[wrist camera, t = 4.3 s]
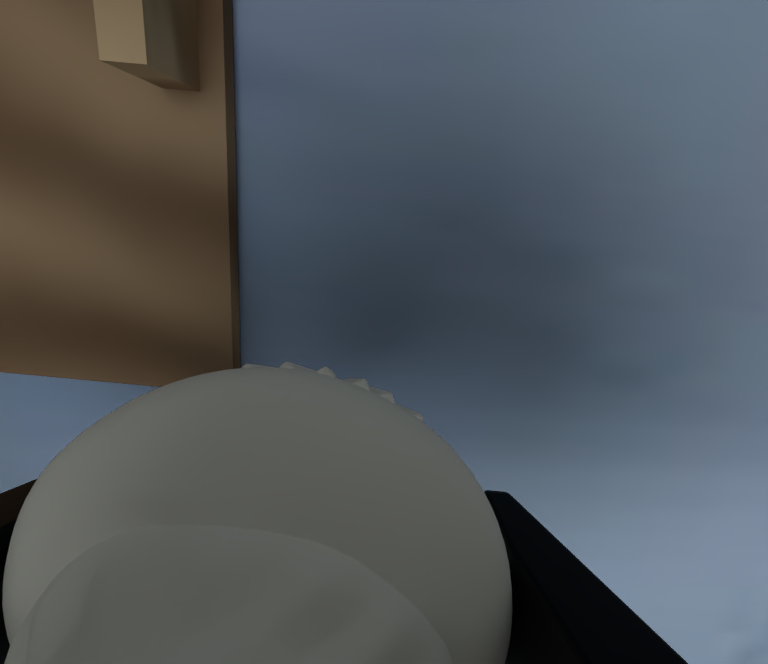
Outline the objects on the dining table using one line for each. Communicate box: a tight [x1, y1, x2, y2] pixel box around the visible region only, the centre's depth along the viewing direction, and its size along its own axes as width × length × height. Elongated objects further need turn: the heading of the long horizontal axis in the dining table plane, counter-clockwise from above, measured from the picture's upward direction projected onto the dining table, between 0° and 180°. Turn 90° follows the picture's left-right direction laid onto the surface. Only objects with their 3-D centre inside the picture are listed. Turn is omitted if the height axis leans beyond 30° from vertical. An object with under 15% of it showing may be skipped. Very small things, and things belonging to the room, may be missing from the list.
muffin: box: [2, 361, 512, 664], centre depth 5 cm, size 6×6×7 cm
